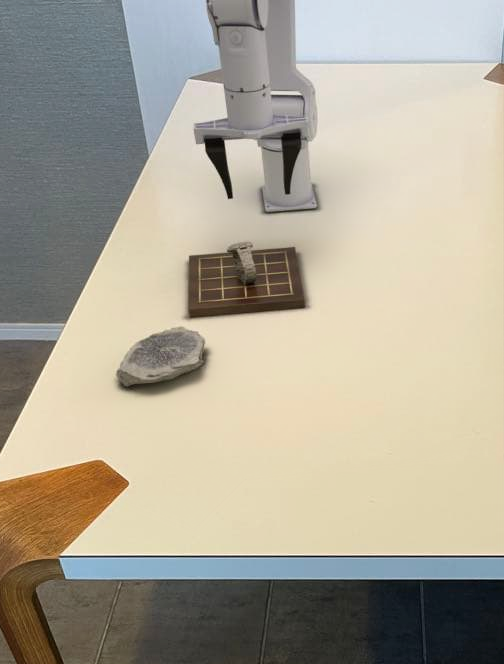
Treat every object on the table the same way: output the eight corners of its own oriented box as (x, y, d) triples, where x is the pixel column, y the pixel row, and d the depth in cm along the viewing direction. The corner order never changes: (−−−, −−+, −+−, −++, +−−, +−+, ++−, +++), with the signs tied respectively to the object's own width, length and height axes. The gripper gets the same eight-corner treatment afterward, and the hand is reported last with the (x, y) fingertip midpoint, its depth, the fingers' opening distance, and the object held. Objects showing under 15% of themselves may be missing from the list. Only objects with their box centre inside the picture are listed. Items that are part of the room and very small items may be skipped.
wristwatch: (251, 266, 118) (247, 231, 114) (264, 286, 114) (260, 251, 110) (226, 271, 117) (221, 236, 113) (239, 292, 113) (234, 256, 109)
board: (190, 263, 121) (188, 254, 120) (295, 254, 123) (295, 245, 122) (189, 317, 111) (188, 308, 110) (305, 307, 112) (304, 298, 111)
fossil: (157, 315, 106) (219, 319, 101) (171, 343, 108) (232, 348, 103) (98, 369, 99) (161, 376, 94) (114, 397, 102) (176, 406, 97)
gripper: (187, 99, 102) (204, 210, 112) (308, 91, 104) (315, 202, 113) (187, 80, 107) (204, 188, 117) (303, 73, 109) (310, 180, 118)
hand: (258, 193), depth 115 cm, fingers open, 7 cm apart
